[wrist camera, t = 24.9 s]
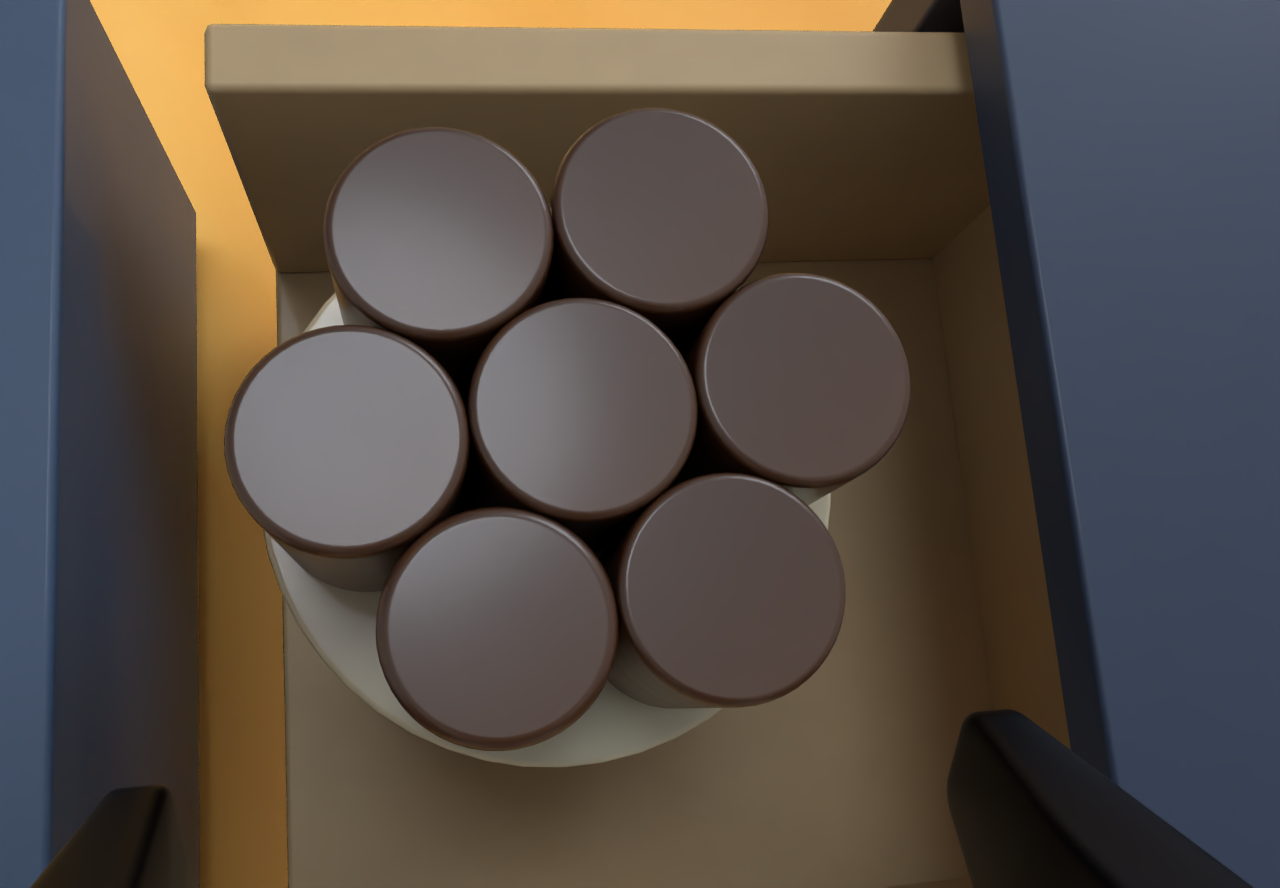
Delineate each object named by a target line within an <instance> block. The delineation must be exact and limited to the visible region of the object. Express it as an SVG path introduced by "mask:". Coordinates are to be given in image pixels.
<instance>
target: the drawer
mask: <svg viewBox="0 0 1280 888" xmlns="http://www.w3.org/2000/svg"><path fill="white" fill-rule="evenodd" d="M204 35H205V87H206V90H207V93H208V95H209V98H210V100H211V103H212V106H213V108H214V111H215V113H216V116H217V119H218V121H219V124H220V126H221V129H222V132H223V134H224V137H225V139H226V142H227V145H228V147H229V150H230V152H231V155H232V158H233V160H234V163H235V165H236V168H237V171H238V173H239V176H240V178H241V181H242V184H243V186H244V189H245V191H246V194H247V197H248V199H249V202H250V204H251V207H252V210H253V212H254V215H255V217H256V220H257V223H258V225H259V228H260V230H261V233H262V236H263V238H264V241H265V243H266V246H267V249H268V251H269V254H270V256H271V259H272V262H273V264H274V267H275V269H276V300H277V346H279V345H281V344H282V343H284V342H286V341H287V340H289V339H291V338H293V337H296V336H298V335H300V334H302V333H303V332H304V331H305V329H306V328H307V327H308V325H309V324H310V323H311V321H312V320H313V318H314V317H315V316H316V314H317V313H318V312H319V310H320V309H321V308H322V306H323V305H324V304H325V303H326V302H327V301H328V300H329V299H330V298H331V296H332V295H333V294H334V293H335V289H334V285H333V282H332V278H331V274H330V270H329V266H328V263H327V259H326V254H325V249H324V242H323V222H324V214H325V210H326V205H327V202H328V199H329V196H330V194H331V191H332V189H333V187H334V185H335V184H336V182H337V180H338V178H339V177H340V175H341V174H342V173H343V171H344V170H345V169H346V167H347V166H348V165H349V164H350V163H351V162H352V161H353V160H354V159H355V158H356V157H357V156H358V155H359V154H361V153H362V152H363V151H364V150H366V149H367V148H368V147H370V146H371V145H373V144H375V143H376V142H378V141H380V140H382V139H383V138H386V137H388V136H391V135H393V134H395V133H399V132H402V131H406V130H409V129H415V128H422V127H448V128H456V129H461V130H465V131H469V132H472V133H475V134H478V135H481V136H483V137H485V138H487V139H490V140H492V141H494V142H496V143H497V144H499V145H500V146H502V147H503V148H505V149H507V150H508V151H509V152H510V153H512V154H513V155H514V156H515V157H516V158H518V159H519V160H520V161H521V162H522V163H523V164H524V165H525V166H526V167H527V168H528V170H529V171H530V172H531V173H532V175H533V176H534V178H535V179H536V180H537V182H538V183H539V185H540V187H541V189H542V191H543V192H544V194H545V197H546V199H547V202H548V205H550V200H551V195H552V190H553V185H554V180H555V177H556V174H557V171H558V168H559V166H560V164H561V162H562V160H563V158H564V156H565V155H566V153H567V152H568V150H569V149H570V147H571V146H572V145H573V144H574V143H575V141H576V140H577V139H578V138H579V137H580V136H581V135H582V134H583V133H585V132H586V131H587V130H588V129H590V128H591V127H592V126H594V125H596V124H597V123H599V122H601V121H602V120H604V119H606V118H609V117H611V116H613V115H616V114H618V113H622V112H625V111H629V110H633V109H640V108H657V107H658V108H669V109H675V110H679V111H684V112H687V113H690V114H693V115H696V116H699V117H701V118H703V119H705V120H707V121H709V122H711V123H712V124H714V125H716V126H717V127H719V128H720V129H722V130H723V131H724V132H726V133H727V134H728V135H729V136H730V137H732V138H733V139H734V140H735V141H736V142H737V143H738V144H739V145H740V146H741V148H742V149H743V150H744V151H745V153H746V154H747V155H748V157H749V158H750V159H751V161H752V163H753V164H754V166H755V168H756V170H757V172H758V174H759V176H760V179H761V181H762V184H763V186H764V190H765V194H766V197H767V203H768V210H769V227H768V234H767V240H766V243H765V247H764V250H763V253H762V255H761V257H760V260H759V262H758V264H757V265H756V267H755V269H754V270H753V272H752V273H751V275H750V276H749V278H748V279H747V281H746V282H745V284H744V285H743V286H745V285H747V284H749V283H751V282H753V281H755V280H758V279H761V278H764V277H767V276H771V275H776V274H782V273H806V274H814V275H819V276H823V277H827V278H830V279H833V280H836V281H839V282H841V283H843V284H845V285H847V286H849V287H851V288H853V289H854V290H856V291H857V292H859V293H861V294H862V295H863V296H865V297H866V298H867V299H868V300H869V301H871V302H872V303H873V304H874V305H875V306H876V307H877V308H878V309H879V310H880V311H881V312H882V313H883V314H884V316H885V317H886V318H887V320H888V321H889V322H890V324H891V325H892V327H893V328H894V330H895V332H896V334H897V335H898V337H899V339H900V342H901V344H902V346H903V349H904V352H905V355H906V359H907V362H908V368H909V374H910V402H909V408H908V413H907V417H906V420H905V423H904V425H903V428H902V431H901V433H900V435H899V436H898V438H897V440H896V442H895V444H894V445H893V446H892V448H891V449H890V450H889V452H888V453H887V454H886V455H885V456H884V457H883V458H882V459H881V460H880V461H879V462H878V463H877V464H876V465H875V466H874V467H872V468H871V469H870V470H868V471H867V472H866V473H864V474H862V475H860V476H859V477H857V478H855V479H853V480H852V481H850V482H848V483H847V484H845V485H843V486H841V487H840V488H838V489H836V490H834V491H833V492H831V507H830V516H829V524H828V532H829V533H830V535H831V537H832V539H833V541H834V543H835V545H836V548H837V550H838V553H839V555H840V559H841V563H842V567H843V571H844V578H845V592H846V601H845V609H844V616H843V620H842V625H841V629H840V631H839V634H838V637H837V639H836V642H835V644H834V646H833V648H832V650H831V651H830V653H829V655H828V657H827V658H826V659H825V661H824V662H823V664H822V665H821V666H820V668H819V669H818V670H817V671H816V672H815V673H814V674H813V675H812V676H811V677H810V678H809V679H808V680H807V681H806V682H804V683H803V684H802V685H801V686H799V687H798V688H797V689H795V690H793V691H792V692H790V693H788V694H787V695H785V696H783V697H781V698H778V699H776V700H773V701H771V702H768V703H764V704H760V705H756V706H748V707H739V708H723V709H721V710H720V711H719V712H718V713H716V714H715V715H714V716H712V717H711V718H710V719H708V720H707V721H705V722H703V723H702V724H700V725H698V726H696V727H695V728H693V729H691V730H689V731H688V732H686V733H684V734H682V735H681V736H679V737H677V738H676V739H673V740H671V741H668V742H666V743H663V744H661V745H658V746H656V747H654V748H651V749H649V750H646V751H644V752H641V753H638V754H634V755H631V756H627V757H623V758H619V759H615V760H611V761H608V762H604V763H597V764H588V765H580V766H572V767H522V766H516V765H509V764H503V763H496V762H490V761H484V760H481V759H477V758H474V757H471V756H467V755H464V754H460V753H457V752H454V751H450V750H447V749H445V748H443V747H440V746H438V745H436V744H434V743H431V742H429V741H427V740H425V739H423V738H420V737H418V736H416V735H414V734H411V733H410V732H408V731H406V730H405V729H403V728H402V727H400V726H398V725H397V724H395V723H394V722H392V721H391V720H389V719H387V718H386V717H384V716H383V715H381V714H379V713H378V712H376V711H375V710H374V709H373V708H372V707H370V706H369V705H368V704H367V703H366V702H364V701H363V700H362V699H361V698H360V697H358V696H357V695H356V694H355V693H354V692H352V691H351V690H350V689H349V688H348V687H346V685H345V684H344V683H343V682H342V681H341V680H340V679H339V678H338V677H337V676H336V674H335V673H334V672H333V671H332V670H331V669H330V668H329V667H328V666H327V665H326V663H325V662H324V661H323V660H322V659H321V658H320V657H319V655H318V654H317V652H316V651H315V649H314V648H313V647H312V645H311V644H310V642H309V641H308V639H307V638H306V636H305V635H304V633H303V632H302V630H301V629H300V627H299V626H298V625H297V623H296V621H295V619H294V617H293V615H292V613H291V611H290V609H289V606H288V604H287V602H286V600H285V598H284V596H283V594H282V599H283V649H284V699H285V749H286V799H287V849H288V888H973V886H972V883H971V880H970V876H969V873H968V870H967V866H966V863H965V860H964V856H963V853H962V850H961V846H960V843H959V840H958V836H957V833H956V830H955V826H954V823H953V820H952V817H951V813H950V810H949V806H948V800H947V779H948V774H949V770H950V767H951V763H952V759H953V755H954V752H955V748H956V744H957V740H958V737H959V733H960V729H961V726H962V723H963V721H964V719H965V718H966V717H967V716H968V715H969V714H970V713H973V712H979V711H990V710H1001V709H1012V710H1015V711H1018V712H1020V713H1022V714H1023V715H1025V716H1026V717H1027V718H1029V719H1030V720H1031V721H1033V722H1034V723H1035V724H1037V725H1038V726H1039V727H1041V728H1042V729H1043V730H1045V731H1046V732H1047V733H1049V734H1050V735H1051V736H1053V737H1054V738H1055V739H1057V740H1058V741H1059V742H1061V743H1062V744H1063V745H1065V746H1066V747H1067V748H1069V749H1070V750H1071V748H1070V741H1069V735H1068V728H1067V721H1066V714H1065V708H1064V701H1063V694H1062V687H1061V681H1060V674H1059V667H1058V660H1057V654H1056V647H1055V640H1054V633H1053V626H1052V620H1051V613H1050V606H1049V599H1048V593H1047V586H1046V579H1045V572H1044V566H1043V559H1042V552H1041V545H1040V539H1039V532H1038V525H1037V518H1036V511H1035V505H1034V498H1033V491H1032V484H1031V478H1030V471H1029V464H1028V457H1027V451H1026V444H1025V437H1024V430H1023V424H1022V417H1021V410H1020V403H1019V396H1018V390H1017V383H1016V376H1015V369H1014V363H1013V356H1012V349H1011V342H1010V336H1009V329H1008V322H1007V315H1006V309H1005V302H1004V295H1003V288H1002V281H1001V275H1000V268H999V261H998V254H997V248H996V241H995V234H994V227H993V221H992V214H991V207H990V200H989V194H988V187H987V180H986V173H985V167H984V160H983V153H982V146H981V139H980V133H979V126H978V119H977V112H976V106H975V99H974V92H973V85H972V79H971V72H970V65H969V58H968V52H967V45H966V38H965V33H954V32H867V31H780V30H694V29H607V28H520V27H433V26H346V25H259V24H211V25H208V26H207V28H206V31H205V33H204ZM149 785H163V786H165V787H167V788H168V789H169V791H170V792H171V794H172V797H173V800H174V805H175V809H176V814H177V818H178V823H179V827H180V832H181V836H182V841H183V845H184V850H185V855H186V862H187V888H200V804H199V637H198V470H197V303H196V212H195V210H194V208H193V206H192V204H191V202H190V200H189V198H188V196H187V194H186V192H185V190H184V188H183V186H182V184H181V182H180V180H179V178H178V176H177V174H176V172H175V170H174V168H173V166H172V164H171V162H170V160H169V158H168V156H167V154H166V152H165V150H164V148H163V146H162V144H161V142H160V140H159V138H158V136H157V134H156V132H155V130H154V128H153V126H152V124H151V122H150V120H149V118H148V116H147V114H146V112H145V110H144V108H143V106H142V104H141V102H140V100H139V98H138V96H137V94H136V92H135V90H134V88H133V86H132V84H131V82H130V80H129V78H128V76H127V74H126V72H125V70H124V68H123V66H122V64H121V62H120V60H119V58H118V56H117V54H116V52H115V50H114V48H113V46H112V44H111V42H110V40H109V38H108V36H107V34H106V32H105V30H104V28H103V26H102V24H101V22H100V20H99V18H98V16H97V14H96V12H95V10H94V8H93V6H92V4H91V2H90V0H0V888H30V887H31V886H32V885H33V883H34V882H35V881H36V880H37V878H38V877H39V876H40V875H41V873H42V872H43V871H44V870H45V869H46V867H47V866H48V865H49V864H50V862H51V861H52V860H53V859H54V857H55V856H56V855H57V854H58V853H59V851H60V850H61V849H62V848H63V846H64V845H65V844H66V843H67V841H68V840H69V839H70V838H71V836H72V835H73V834H74V833H75V832H76V830H77V829H78V828H79V827H80V825H81V824H82V823H83V822H84V820H85V819H86V818H87V817H88V816H89V814H90V813H91V812H92V811H93V809H94V808H95V807H96V806H97V804H98V803H99V802H100V801H101V799H102V798H103V797H104V796H105V795H106V794H108V793H109V792H111V791H112V790H114V789H118V788H126V787H138V786H149Z"/></svg>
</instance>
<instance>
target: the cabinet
mask: <svg viewBox="0 0 1280 888" xmlns="http://www.w3.org/2000/svg"><path fill="white" fill-rule="evenodd" d="M873 32H954V33H965V38H966V45H967V52H968V58H969V65H970V72H971V79H972V85H973V92H974V99H975V106H976V112H977V119H978V126H979V133H980V139H981V146H982V153H983V160H984V167H985V173H986V180H987V187H988V194H989V200H990V207H991V214H992V221H993V227H994V234H995V241H996V248H997V254H998V261H999V268H1000V275H1001V281H1002V288H1003V295H1004V302H1005V309H1006V315H1007V322H1008V329H1009V336H1010V342H1011V349H1012V356H1013V363H1014V369H1015V376H1016V383H1017V390H1018V396H1019V403H1020V410H1021V417H1022V424H1023V430H1024V437H1025V444H1026V451H1027V457H1028V464H1029V471H1030V478H1031V484H1032V491H1033V498H1034V505H1035V511H1036V518H1037V525H1038V532H1039V539H1040V545H1041V552H1042V559H1043V566H1044V572H1045V579H1046V586H1047V593H1048V599H1049V606H1050V613H1051V620H1052V626H1053V633H1054V640H1055V647H1056V654H1057V660H1058V667H1059V674H1060V681H1061V687H1062V694H1063V701H1064V708H1065V714H1066V721H1067V728H1068V735H1069V741H1070V748H1071V751H1073V752H1074V753H1075V754H1077V755H1078V756H1079V757H1081V758H1082V759H1083V760H1085V761H1086V762H1087V763H1089V764H1090V765H1091V766H1093V767H1094V768H1095V769H1097V770H1098V771H1099V772H1101V773H1102V774H1103V775H1105V776H1106V777H1107V778H1109V779H1110V780H1111V781H1113V782H1114V783H1115V784H1117V785H1118V786H1119V787H1121V788H1122V789H1123V790H1125V791H1126V792H1127V793H1129V794H1130V795H1131V796H1133V797H1134V798H1135V799H1137V800H1138V801H1139V802H1141V803H1142V804H1143V805H1145V806H1146V807H1147V808H1149V809H1150V810H1151V811H1153V812H1154V813H1155V814H1157V815H1158V816H1159V817H1161V818H1162V819H1163V820H1165V821H1166V822H1167V823H1169V824H1170V825H1171V826H1173V827H1174V828H1175V829H1177V830H1178V831H1179V832H1181V833H1182V834H1183V835H1185V836H1186V837H1187V838H1189V839H1190V840H1191V841H1193V842H1194V843H1195V844H1197V845H1198V846H1199V847H1201V848H1202V849H1203V850H1205V851H1206V852H1207V853H1209V854H1210V855H1211V856H1213V857H1214V858H1215V859H1217V860H1218V861H1219V862H1221V863H1222V864H1223V865H1225V866H1226V867H1227V868H1229V869H1230V870H1231V871H1233V872H1234V873H1235V874H1237V875H1238V876H1239V877H1241V878H1242V879H1243V880H1245V881H1246V882H1247V883H1249V884H1250V885H1251V886H1253V887H1254V888H1280V0H892V1H891V3H890V5H889V6H888V8H887V9H886V11H885V13H884V14H883V16H882V17H881V19H880V21H879V22H878V24H877V25H876V27H875V29H874V30H873Z"/></svg>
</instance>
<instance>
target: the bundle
mask: <svg viewBox="0 0 1280 888" xmlns="http://www.w3.org/2000/svg"><path fill="white" fill-rule="evenodd" d="M768 227H769V210H768V203H767V197H766V194H765V190H764V186H763V184H762V181H761V179H760V176H759V174H758V172H757V170H756V168H755V166H754V164H753V163H752V161H751V159H750V158H749V157H748V155H747V154H746V153H745V151H744V150H743V149H742V148H741V146H740V145H739V144H738V143H737V142H736V141H735V140H734V139H733V138H732V137H730V136H729V135H728V134H727V133H726V132H724V131H723V130H722V129H720V128H719V127H717V126H716V125H714V124H712V123H711V122H709V121H707V120H705V119H703V118H701V117H699V116H696V115H693V114H690V113H687V112H684V111H679V110H675V109H669V108H658V107H657V108H640V109H633V110H629V111H625V112H622V113H618V114H616V115H613V116H611V117H609V118H606V119H604V120H602V121H601V122H599V123H597V124H596V125H594V126H592V127H591V128H590V129H588V130H587V131H586V132H585V133H583V134H582V135H581V136H580V137H579V138H578V139H577V140H576V141H575V143H574V144H573V145H572V146H571V147H570V149H569V150H568V152H567V153H566V155H565V156H564V158H563V160H562V162H561V164H560V166H559V168H558V171H557V174H556V177H555V180H554V185H553V190H552V195H551V200H550V205H548V202H547V199H546V197H545V194H544V192H543V191H542V189H541V187H540V185H539V183H538V182H537V180H536V179H535V178H534V176H533V175H532V173H531V172H530V171H529V170H528V168H527V167H526V166H525V165H524V164H523V163H522V162H521V161H520V160H519V159H518V158H516V157H515V156H514V155H513V154H512V153H510V152H509V151H508V150H507V149H505V148H503V147H502V146H500V145H499V144H497V143H496V142H494V141H492V140H490V139H487V138H485V137H483V136H481V135H478V134H475V133H472V132H469V131H465V130H461V129H456V128H448V127H422V128H415V129H409V130H406V131H402V132H399V133H395V134H393V135H391V136H388V137H386V138H383V139H382V140H380V141H378V142H376V143H375V144H373V145H371V146H370V147H368V148H367V149H366V150H364V151H363V152H362V153H361V154H359V155H358V156H357V157H356V158H355V159H354V160H353V161H352V162H351V163H350V164H349V165H348V166H347V167H346V169H345V170H344V171H343V173H342V174H341V175H340V177H339V178H338V180H337V182H336V184H335V185H334V187H333V189H332V191H331V194H330V196H329V199H328V202H327V205H326V210H325V214H324V222H323V242H324V249H325V254H326V259H327V263H328V266H329V270H330V274H331V278H332V282H333V285H334V289H335V293H334V294H333V295H332V296H331V298H330V299H329V300H328V301H327V302H326V303H325V304H324V305H323V306H322V308H321V309H320V310H319V312H318V313H317V314H316V316H315V317H314V318H313V320H312V321H311V323H310V324H309V325H308V327H307V328H306V329H305V331H304V332H303V333H302V334H300V335H298V336H296V337H293V338H291V339H289V340H287V341H286V342H284V343H282V344H281V345H279V346H277V347H276V348H274V349H273V350H272V351H271V352H269V353H268V354H267V355H266V356H264V357H263V358H262V359H261V360H260V361H259V362H258V363H257V364H256V365H255V366H254V367H253V369H252V370H251V371H250V372H249V374H248V375H247V376H246V378H245V379H244V381H243V382H242V384H241V386H240V387H239V389H238V391H237V393H236V395H235V397H234V399H233V402H232V405H231V407H230V410H229V414H228V418H227V422H226V428H225V438H224V446H225V459H226V465H227V470H228V474H229V477H230V480H231V483H232V486H233V488H234V490H235V492H236V494H237V496H238V498H239V500H240V501H241V503H242V504H243V506H244V507H245V509H246V510H247V512H248V513H249V514H250V515H251V516H252V517H253V519H254V520H255V521H256V522H257V523H258V524H259V525H260V526H261V527H262V528H263V530H264V536H265V541H266V547H267V552H268V555H269V558H270V561H271V564H272V567H273V570H274V573H275V576H276V579H277V582H278V585H279V588H280V590H281V592H282V594H283V596H284V598H285V600H286V602H287V604H288V606H289V609H290V611H291V613H292V615H293V617H294V619H295V621H296V623H297V625H298V626H299V627H300V629H301V630H302V632H303V633H304V635H305V636H306V638H307V639H308V641H309V642H310V644H311V645H312V647H313V648H314V649H315V651H316V652H317V654H318V655H319V657H320V658H321V659H322V660H323V661H324V662H325V663H326V665H327V666H328V667H329V668H330V669H331V670H332V671H333V672H334V673H335V674H336V676H337V677H338V678H339V679H340V680H341V681H342V682H343V683H344V684H345V685H346V687H348V688H349V689H350V690H351V691H352V692H354V693H355V694H356V695H357V696H358V697H360V698H361V699H362V700H363V701H364V702H366V703H367V704H368V705H369V706H370V707H372V708H373V709H374V710H375V711H376V712H378V713H379V714H381V715H383V716H384V717H386V718H387V719H389V720H391V721H392V722H394V723H395V724H397V725H398V726H400V727H402V728H403V729H405V730H406V731H408V732H410V733H411V734H414V735H416V736H418V737H420V738H423V739H425V740H427V741H429V742H431V743H434V744H436V745H438V746H440V747H443V748H445V749H447V750H450V751H454V752H457V753H460V754H464V755H467V756H471V757H474V758H477V759H481V760H484V761H490V762H496V763H503V764H509V765H516V766H522V767H572V766H580V765H588V764H597V763H604V762H608V761H611V760H615V759H619V758H623V757H627V756H631V755H634V754H638V753H641V752H644V751H646V750H649V749H651V748H654V747H656V746H658V745H661V744H663V743H666V742H668V741H671V740H673V739H676V738H677V737H679V736H681V735H682V734H684V733H686V732H688V731H689V730H691V729H693V728H695V727H696V726H698V725H700V724H702V723H703V722H705V721H707V720H708V719H710V718H711V717H712V716H714V715H715V714H716V713H718V712H719V711H720V710H721V709H723V708H739V707H748V706H756V705H760V704H764V703H768V702H771V701H773V700H776V699H778V698H781V697H783V696H785V695H787V694H788V693H790V692H792V691H793V690H795V689H797V688H798V687H799V686H801V685H802V684H803V683H804V682H806V681H807V680H808V679H809V678H810V677H811V676H812V675H813V674H814V673H815V672H816V671H817V670H818V669H819V668H820V666H821V665H822V664H823V662H824V661H825V659H826V658H827V657H828V655H829V653H830V651H831V650H832V648H833V646H834V644H835V642H836V639H837V637H838V634H839V631H840V629H841V625H842V620H843V616H844V609H845V601H846V592H845V578H844V571H843V567H842V563H841V559H840V555H839V553H838V550H837V548H836V545H835V543H834V541H833V539H832V537H831V535H830V533H829V532H828V524H829V516H830V507H831V492H833V491H834V490H836V489H838V488H840V487H841V486H843V485H845V484H847V483H848V482H850V481H852V480H853V479H855V478H857V477H859V476H860V475H862V474H864V473H866V472H867V471H868V470H870V469H871V468H872V467H874V466H875V465H876V464H877V463H878V462H879V461H880V460H881V459H882V458H883V457H884V456H885V455H886V454H887V453H888V452H889V450H890V449H891V448H892V446H893V445H894V444H895V442H896V440H897V438H898V436H899V435H900V433H901V431H902V428H903V425H904V423H905V420H906V417H907V413H908V408H909V402H910V374H909V368H908V362H907V359H906V355H905V352H904V349H903V346H902V344H901V342H900V339H899V337H898V335H897V334H896V332H895V330H894V328H893V327H892V325H891V324H890V322H889V321H888V320H887V318H886V317H885V316H884V314H883V313H882V312H881V311H880V310H879V309H878V308H877V307H876V306H875V305H874V304H873V303H872V302H871V301H869V300H868V299H867V298H866V297H865V296H863V295H862V294H861V293H859V292H857V291H856V290H854V289H853V288H851V287H849V286H847V285H845V284H843V283H841V282H839V281H836V280H833V279H830V278H827V277H823V276H819V275H814V274H806V273H782V274H776V275H771V276H767V277H764V278H761V279H758V280H755V281H753V282H751V283H749V284H747V285H745V286H743V285H744V284H745V282H746V281H747V279H748V278H749V276H750V275H751V273H752V272H753V270H754V269H755V267H756V265H757V264H758V262H759V260H760V257H761V255H762V253H763V250H764V247H765V243H766V240H767V234H768Z"/></svg>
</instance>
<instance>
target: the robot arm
mask: <svg viewBox="0 0 1280 888" xmlns="http://www.w3.org/2000/svg"><path fill="white" fill-rule="evenodd" d="M947 800H948V806H949V810H950V813H951V817H952V820H953V823H954V826H955V830H956V833H957V836H958V840H959V843H960V846H961V850H962V853H963V856H964V860H965V863H966V866H967V870H968V873H969V876H970V880H971V883H972V886H973V888H1254V887H1253V886H1251V885H1250V884H1249V883H1247V882H1246V881H1245V880H1243V879H1242V878H1241V877H1239V876H1238V875H1237V874H1235V873H1234V872H1233V871H1231V870H1230V869H1229V868H1227V867H1226V866H1225V865H1223V864H1222V863H1221V862H1219V861H1218V860H1217V859H1215V858H1214V857H1213V856H1211V855H1210V854H1209V853H1207V852H1206V851H1205V850H1203V849H1202V848H1201V847H1199V846H1198V845H1197V844H1195V843H1194V842H1193V841H1191V840H1190V839H1189V838H1187V837H1186V836H1185V835H1183V834H1182V833H1181V832H1179V831H1178V830H1177V829H1175V828H1174V827H1173V826H1171V825H1170V824H1169V823H1167V822H1166V821H1165V820H1163V819H1162V818H1161V817H1159V816H1158V815H1157V814H1155V813H1154V812H1153V811H1151V810H1150V809H1149V808H1147V807H1146V806H1145V805H1143V804H1142V803H1141V802H1139V801H1138V800H1137V799H1135V798H1134V797H1133V796H1131V795H1130V794H1129V793H1127V792H1126V791H1125V790H1123V789H1122V788H1121V787H1119V786H1118V785H1117V784H1115V783H1114V782H1113V781H1111V780H1110V779H1109V778H1107V777H1106V776H1105V775H1103V774H1102V773H1101V772H1099V771H1098V770H1097V769H1095V768H1094V767H1093V766H1091V765H1090V764H1089V763H1087V762H1086V761H1085V760H1083V759H1082V758H1081V757H1079V756H1078V755H1077V754H1075V753H1074V752H1073V751H1071V750H1070V749H1069V748H1067V747H1066V746H1065V745H1063V744H1062V743H1061V742H1059V741H1058V740H1057V739H1055V738H1054V737H1053V736H1051V735H1050V734H1049V733H1047V732H1046V731H1045V730H1043V729H1042V728H1041V727H1039V726H1038V725H1037V724H1035V723H1034V722H1033V721H1031V720H1030V719H1029V718H1027V717H1026V716H1025V715H1023V714H1022V713H1020V712H1018V711H1015V710H1012V709H1001V710H990V711H979V712H973V713H970V714H969V715H968V716H967V717H966V718H965V719H964V721H963V723H962V726H961V729H960V733H959V737H958V740H957V744H956V748H955V752H954V755H953V759H952V763H951V767H950V770H949V774H948V779H947ZM30 888H187V862H186V855H185V850H184V845H183V841H182V836H181V832H180V827H179V823H178V818H177V814H176V809H175V805H174V800H173V797H172V794H171V792H170V791H169V789H168V788H167V787H165V786H163V785H149V786H138V787H126V788H118V789H114V790H112V791H111V792H109V793H108V794H106V795H105V796H104V797H103V798H102V799H101V801H100V802H99V803H98V804H97V806H96V807H95V808H94V809H93V811H92V812H91V813H90V814H89V816H88V817H87V818H86V819H85V820H84V822H83V823H82V824H81V825H80V827H79V828H78V829H77V830H76V832H75V833H74V834H73V835H72V836H71V838H70V839H69V840H68V841H67V843H66V844H65V845H64V846H63V848H62V849H61V850H60V851H59V853H58V854H57V855H56V856H55V857H54V859H53V860H52V861H51V862H50V864H49V865H48V866H47V867H46V869H45V870H44V871H43V872H42V873H41V875H40V876H39V877H38V878H37V880H36V881H35V882H34V883H33V885H32V886H31V887H30Z"/></svg>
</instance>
